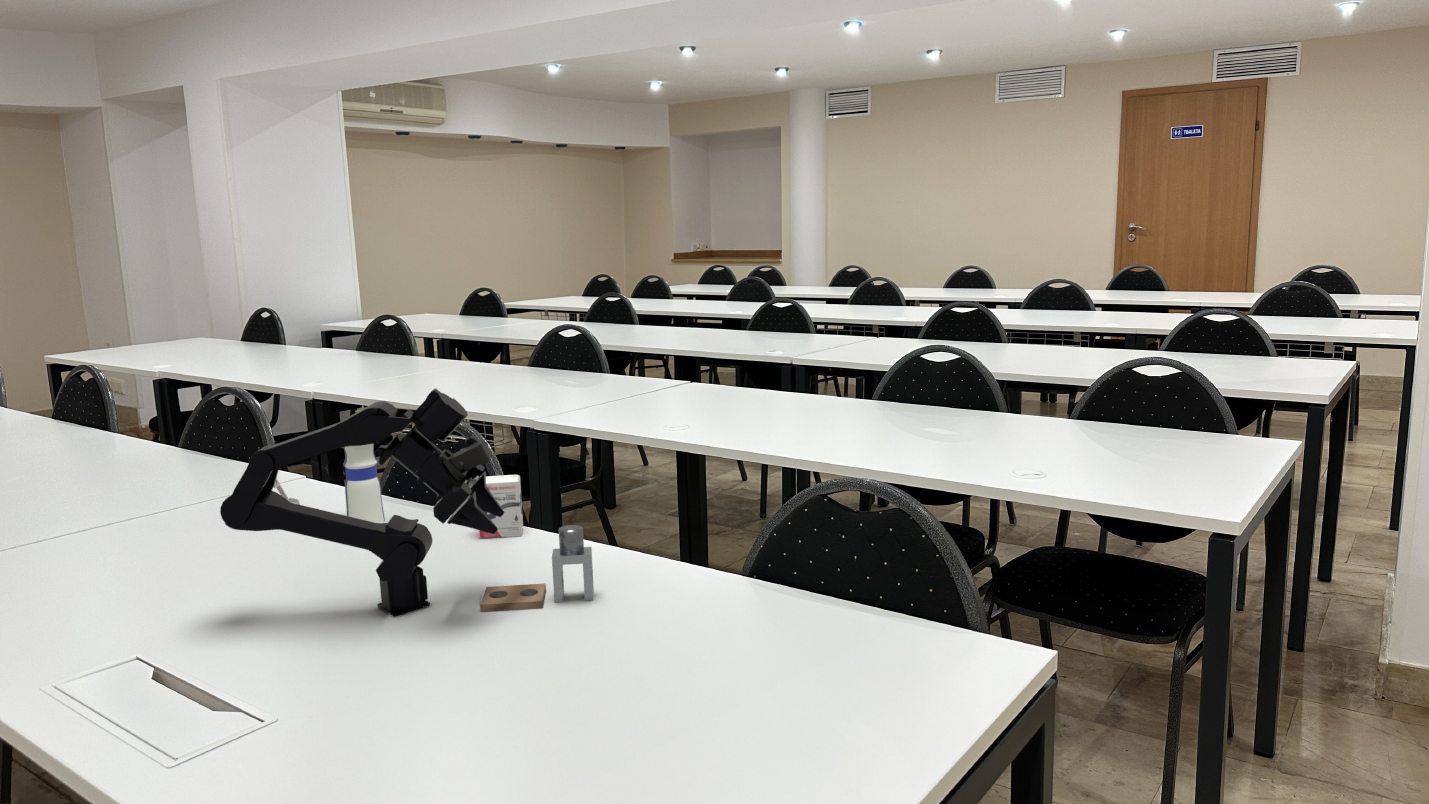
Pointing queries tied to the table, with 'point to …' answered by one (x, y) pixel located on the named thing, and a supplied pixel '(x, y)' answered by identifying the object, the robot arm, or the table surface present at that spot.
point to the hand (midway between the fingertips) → (499, 523)
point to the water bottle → (362, 484)
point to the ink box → (506, 506)
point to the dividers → (572, 560)
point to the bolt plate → (513, 597)
